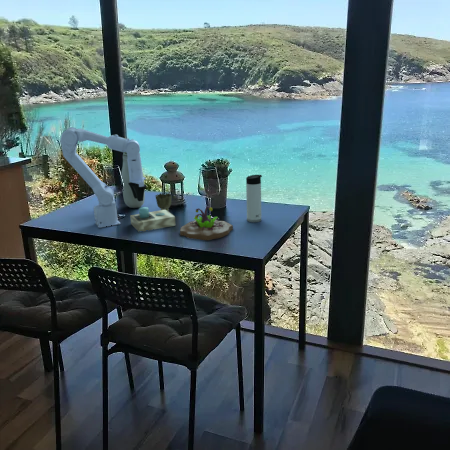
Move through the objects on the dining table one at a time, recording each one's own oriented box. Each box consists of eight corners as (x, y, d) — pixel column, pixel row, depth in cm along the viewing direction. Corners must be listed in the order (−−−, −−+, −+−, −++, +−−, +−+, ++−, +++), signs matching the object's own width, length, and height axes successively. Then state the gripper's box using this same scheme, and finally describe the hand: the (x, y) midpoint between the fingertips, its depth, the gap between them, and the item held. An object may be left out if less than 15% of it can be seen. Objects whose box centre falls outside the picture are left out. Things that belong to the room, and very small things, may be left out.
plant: (212, 244, 185) (210, 216, 181) (172, 235, 196) (170, 209, 192) (239, 228, 201) (239, 202, 197) (201, 221, 211) (200, 197, 208)
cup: (174, 208, 229) (172, 192, 227) (170, 213, 223) (169, 196, 220) (158, 209, 230) (157, 192, 228) (155, 213, 223) (153, 197, 221)
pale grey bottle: (121, 209, 231) (114, 151, 222) (131, 203, 240) (125, 147, 231) (140, 211, 228) (134, 152, 219) (149, 204, 237) (144, 148, 228)
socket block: (139, 232, 200) (138, 222, 198) (131, 224, 210) (130, 214, 209) (175, 225, 206) (174, 216, 205) (165, 217, 217) (165, 209, 215)
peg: (141, 218, 203) (140, 210, 202) (138, 216, 206) (137, 207, 205) (150, 217, 205) (149, 208, 203) (147, 214, 208) (146, 206, 207)
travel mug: (261, 222, 206) (260, 176, 199) (245, 222, 207) (244, 176, 201) (263, 218, 212) (262, 173, 205) (248, 217, 213) (247, 173, 206)
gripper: (149, 170, 201) (152, 201, 206) (139, 164, 214) (142, 194, 218) (133, 173, 199) (136, 204, 203) (123, 167, 211) (127, 197, 215)
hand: (138, 199), depth 210 cm, fingers open, 5 cm apart
